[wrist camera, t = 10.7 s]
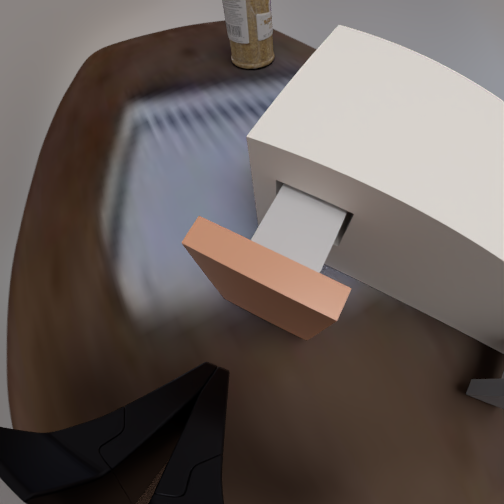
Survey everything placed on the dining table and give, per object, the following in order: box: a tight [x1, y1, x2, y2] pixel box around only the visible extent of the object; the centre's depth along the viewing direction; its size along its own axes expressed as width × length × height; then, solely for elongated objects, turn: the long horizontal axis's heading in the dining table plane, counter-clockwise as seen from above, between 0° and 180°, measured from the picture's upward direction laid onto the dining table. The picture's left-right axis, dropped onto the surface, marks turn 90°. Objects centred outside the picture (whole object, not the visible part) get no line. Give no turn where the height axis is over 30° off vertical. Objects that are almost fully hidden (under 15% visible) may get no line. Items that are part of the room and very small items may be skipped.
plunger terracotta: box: [182, 183, 352, 341], centre depth 14 cm, size 14×5×8 cm, turn 152°
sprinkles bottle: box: [222, 0, 275, 69], centre depth 20 cm, size 5×5×13 cm
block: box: [247, 25, 504, 354], centre depth 14 cm, size 12×22×9 cm, turn 62°
